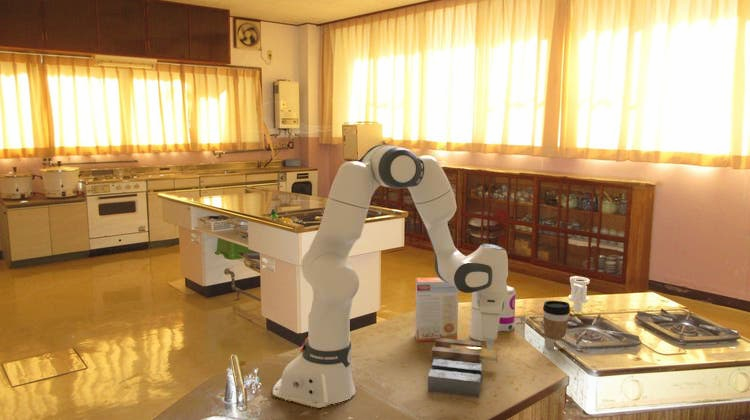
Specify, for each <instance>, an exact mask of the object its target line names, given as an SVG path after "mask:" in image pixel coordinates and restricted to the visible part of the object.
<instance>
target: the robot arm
mask: <svg viewBox="0 0 750 420" xmlns="http://www.w3.org/2000/svg"><path fill="white" fill-rule="evenodd" d="M380 186H381V187H384V188H391V189H395V190H396V189H398V190H401V189H408V191H409V193H410V195H411V198H412V201H413V203H414V205H415V208H416V210H417V212H418V214H419V216H420V218H421V220H422V222H423V224H424V227H425V230H426V233H427V236H428V239H429V241H430V243H431V247H432V249H433V252H434V269H435V273H436V276H437V278H440V279H441V280H443V281H445V282H447V283H449V284H450V285H452V286H453V287H454V288H456V289H458V292H461V293H465V294H469V293H471V294H472V292H476V291H477V300H476V303H477V304H478V307H479V312H480V313H481V321H482V333H483V338H484V339H485V340H486V341H485V342H486V348H487V350H493V349H494V341H496V340H497V338H498V332H499V331H498V326H499V319H500V315H501V314H502V312H503V309H504V308H505V306H506V305H507V286H508V285H507V279H508V276H509V260H508V254H507V253H508V252H507V250H506V249H505V248H503V247H501V246H499V245H497V244H496V245H495V244H493V243H491V244H490V243H483V244H481V245H479V247H478V248H477V249H476V250H475V251H473V252H471V253H470V254H468V255H465V254H463V253H462V252H460V251H459V250H458V249H457V247H456V246H455V244H454V241H453V238H452V234H451V231H450V229H449V226H448V222H449V221H450V220H451V219H452V218H453V217H454V215H455V213H456V212H457V208H458V207H457V202H456V201H457V200H456V197H455V194H454V191H453V187H452V185H451V182H450V181H449V179H448V177H447V174H446V173H445V171H444V169H443V167H442V166H441V164H440V162H439V161H438V160H437V159H436V158H435V157H434V156H431V155H428V154H427V155H425V154H423V155H419V156H417V155H416V154H414V152H412V151H411V150H409V149H408V148H405V147H401V146H397V145H394V144H378V145H375V146H372V147H371V148H370V149H369V150H367V151H366V152H365V154H364V155H363V156H362V157H361V158H360V159H358V161H356V160H352V161H351V160H350V161H346V162H344V163H343V164H341V165H340V167H339V169H338V171H337V173H336V174H335V176H334V179H333V181H332V184H331V186H330V190H329V193H328V196H327V197H328V198H327V200H326V203H325V207H324V211H323V214H322V217H321V220H320V224H319V227H318V230H317V232H316V234H315V236H314V238H313V240H312V241H311V244H310V246H309V249H308V250H307V251H306V252H305V254H304V255H303V257H302V259H301V264H300V265H301V272H302V275H303V277H304V279H305V281H306V282H307V283H308V284H309V285H310V286H311V289H312V304H311V307H310V312H309V314H308V315H307V316H308V317H307V319H308V320H307V324H308V326H307V327H308V328H307V329H308V336H307V337H306V338H305V340H304V342H303V343H302V345H301V347H300V348H299V350H300V351H299V353H302V354H300V355H298V356H297V357H295V358H294V359H292V360H291V361H290V362H288V364H287V365H286V366H285V368H284V369H283V372H282V374H281V378H279V380H277V382H275V384H274V386H273V388H272V396H273V395H276V396H279V397H283V398H287V399H291V400H295V401H299V402H303V403H307V404H310V405H313V406H317V407H323V406H326V405H328V404H331V403H337V402H342V401H345V400H347V401H349V400H351V399H352V398H353V397H354V396H355V394H356V392H357V391H356V386H355V383H354V380H353V374H352V367H351V363H352V358H353V356H352V355H353V354H352V353H353V352H352V342H351V340H350V338H351V335H350V332H351V331H350V327H351V326H350V323H351V322H350V318H351V311H352V310H351V309H352V306H353V301H354V298H355V296H356V295H357V292H358V290H359V288H360V279H359V276H358V273H357V271H356V270H355V268H354V266H353V265H352V264H351V263H350V262H349V261H347V259H348V256H349V254H350V252H351V251H352V248H353V247H354V245H355V243H356V242H357V241H358V240H360V238H361V237H362V234H363V230H364V226H365V223H366V220H367V216H368V211H369V207H370V205H371V200H372V197H373V195H374V193H375V191H376V190H377V189H378V188H379V187H380ZM353 395H354V396H353ZM289 396H290V397H289ZM352 396H353V397H352ZM351 397H352V398H351ZM348 399H349V400H348ZM345 402H346V401H345ZM314 403H316V404H314ZM342 403H343V402H342Z"/></svg>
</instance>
